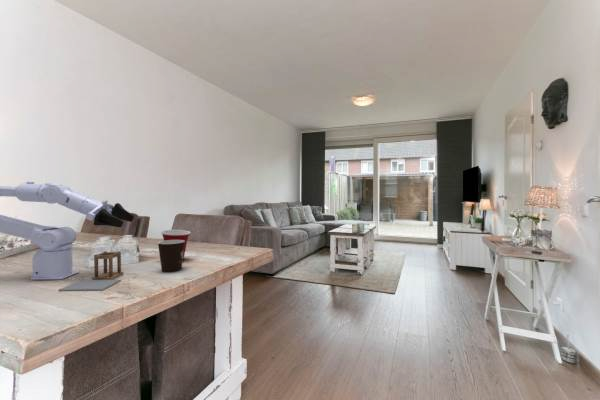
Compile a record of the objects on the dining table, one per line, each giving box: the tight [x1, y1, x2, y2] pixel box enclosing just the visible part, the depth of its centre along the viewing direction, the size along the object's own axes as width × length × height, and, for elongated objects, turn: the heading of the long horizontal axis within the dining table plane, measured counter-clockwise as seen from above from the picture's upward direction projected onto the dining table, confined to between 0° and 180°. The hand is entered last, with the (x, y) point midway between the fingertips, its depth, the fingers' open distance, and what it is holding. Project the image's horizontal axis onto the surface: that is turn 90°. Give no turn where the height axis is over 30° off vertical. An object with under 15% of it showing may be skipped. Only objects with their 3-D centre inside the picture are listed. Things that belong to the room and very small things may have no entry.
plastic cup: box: [160, 229, 191, 260], centre depth 112 cm, size 11×11×12 cm
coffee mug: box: [157, 240, 185, 273], centre depth 101 cm, size 12×9×10 cm
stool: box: [91, 251, 124, 280], centre depth 90 cm, size 6×6×8 cm
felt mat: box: [57, 279, 122, 292], centre depth 82 cm, size 12×8×1 cm
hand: (127, 221), depth 95 cm, fingers open, 7 cm apart
